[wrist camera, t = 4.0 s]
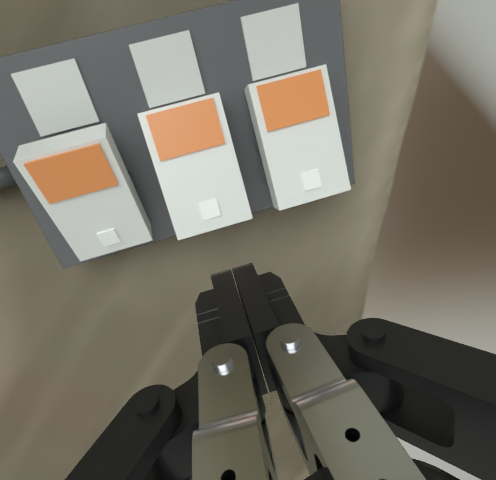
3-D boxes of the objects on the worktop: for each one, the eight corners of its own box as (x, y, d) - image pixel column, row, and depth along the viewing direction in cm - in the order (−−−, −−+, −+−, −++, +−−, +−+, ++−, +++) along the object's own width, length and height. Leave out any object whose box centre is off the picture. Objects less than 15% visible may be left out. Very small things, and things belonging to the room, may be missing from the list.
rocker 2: (243, 89, 22) (248, 83, 20) (316, 70, 22) (327, 63, 21) (273, 207, 24) (280, 211, 22) (340, 187, 24) (352, 189, 22)
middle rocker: (140, 116, 21) (136, 113, 20) (216, 96, 22) (219, 91, 20) (178, 234, 23) (177, 241, 21) (248, 214, 24) (253, 218, 22)
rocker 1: (18, 145, 19) (12, 163, 18) (106, 122, 20) (105, 138, 18) (81, 243, 24) (80, 263, 23) (150, 224, 24) (153, 242, 23)
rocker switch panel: (-91, 82, 22) (-143, 91, 18) (313, -16, 24) (343, -27, 20) (17, 259, 27) (-5, 294, 24) (334, 168, 29) (360, 187, 26)
